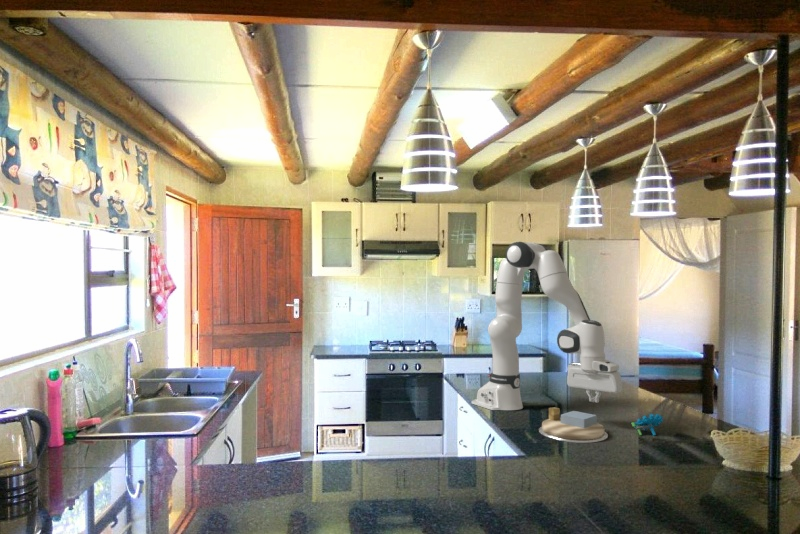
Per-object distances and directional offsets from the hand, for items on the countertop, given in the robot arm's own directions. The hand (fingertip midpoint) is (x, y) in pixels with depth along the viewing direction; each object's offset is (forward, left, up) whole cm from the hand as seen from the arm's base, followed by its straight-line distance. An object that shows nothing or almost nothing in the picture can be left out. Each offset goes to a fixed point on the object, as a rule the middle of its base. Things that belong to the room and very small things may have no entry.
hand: (594, 402), depth 196 cm
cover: (-1, -10, -6) cm, 12 cm away
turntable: (-1, -14, -9) cm, 16 cm away
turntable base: (-1, -14, -9) cm, 16 cm away
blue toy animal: (+17, +6, -9) cm, 20 cm away
